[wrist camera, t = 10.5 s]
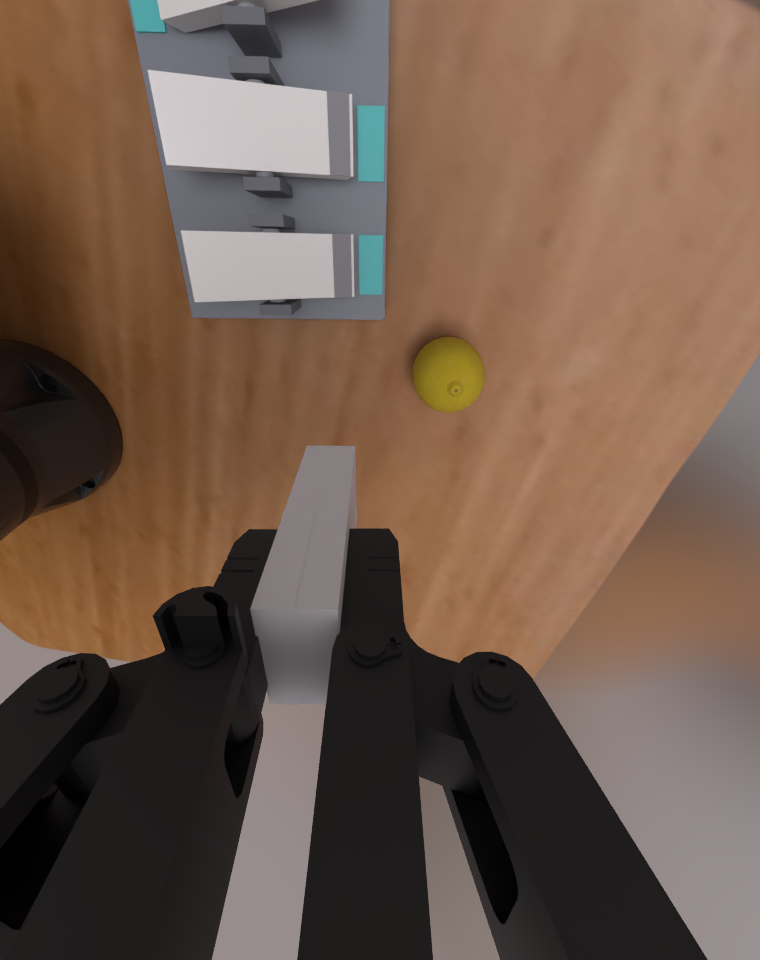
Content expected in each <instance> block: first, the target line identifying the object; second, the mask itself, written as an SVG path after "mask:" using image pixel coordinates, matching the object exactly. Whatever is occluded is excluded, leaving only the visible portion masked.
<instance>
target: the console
mask: <svg viewBox="0 0 760 960" xmlns="http://www.w3.org/2000/svg"><path fill="white" fill-rule="evenodd" d="M128 4H129V9H130V14H131V19H132V24H133V29H134V34H135V39H136V43H137V48H138V53H139V58H140V63H141V68H142V73H143V78H144V83H145V88H146V92H147V97H148V102H149V107H150V112H151V117H152V122H153V127H154V132H155V137H156V142H157V146H158V151H159V156H160V161H161V166H162V171H163V176H164V181H165V186H166V191H167V196H168V200H169V205H170V210H171V215H172V220H173V225H174V230H175V235H176V240H177V245H178V250H179V254H180V259H181V264H182V269H183V274H184V279H185V284H186V289H187V294H188V299H189V304H190V308H191V313H192V318H261V319H355V320H385V264H386V201H387V138H388V75H389V12H390V0H318V1H314V2H310V3H306V4H302V5H298V6H293V7H289V8H285V9H281V10H277V11H273V12H269V13H267V12H266V10H265V8H264V7H257V6H221V9H222V17H223V24H220V25H216V26H212V27H208V28H204V29H200V30H195V31H191V32H187V33H185V32H183V31H181V30H179V29H177V28H175V27H173V26H171V25H169V24H167V23H166V22H164V21H162V20H161V18H160V13H159V7H158V2H157V0H128ZM148 70H155V71H163V72H171V73H180V74H188V75H196V76H205V77H213V78H221V79H230V80H238V81H246V80H248V79H257V80H261V81H263V82H265V84H271V85H280V86H288V87H296V88H305V89H313V90H321V91H335V92H343V93H349V94H352V116H353V175H354V176H353V177H352V178H350V179H348V180H338V179H321V178H305V177H288V176H274V177H256V175H254V174H237V173H220V172H203V171H186V170H170V169H169V168H168V166H167V165H166V160H165V155H164V150H163V145H162V140H161V135H160V130H159V125H158V120H157V115H156V110H155V105H154V100H153V95H152V90H151V85H150V80H149V75H148ZM262 229H279V233H312V234H353V247H354V297H338V298H335V297H333V298H304V299H286V301H285V302H270V300H247V301H218V302H195V301H194V299H193V294H192V289H191V284H190V279H189V274H188V268H187V263H186V258H185V253H184V248H183V243H182V238H181V233H180V231H181V230H183V231H226V232H262Z"/></svg>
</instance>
